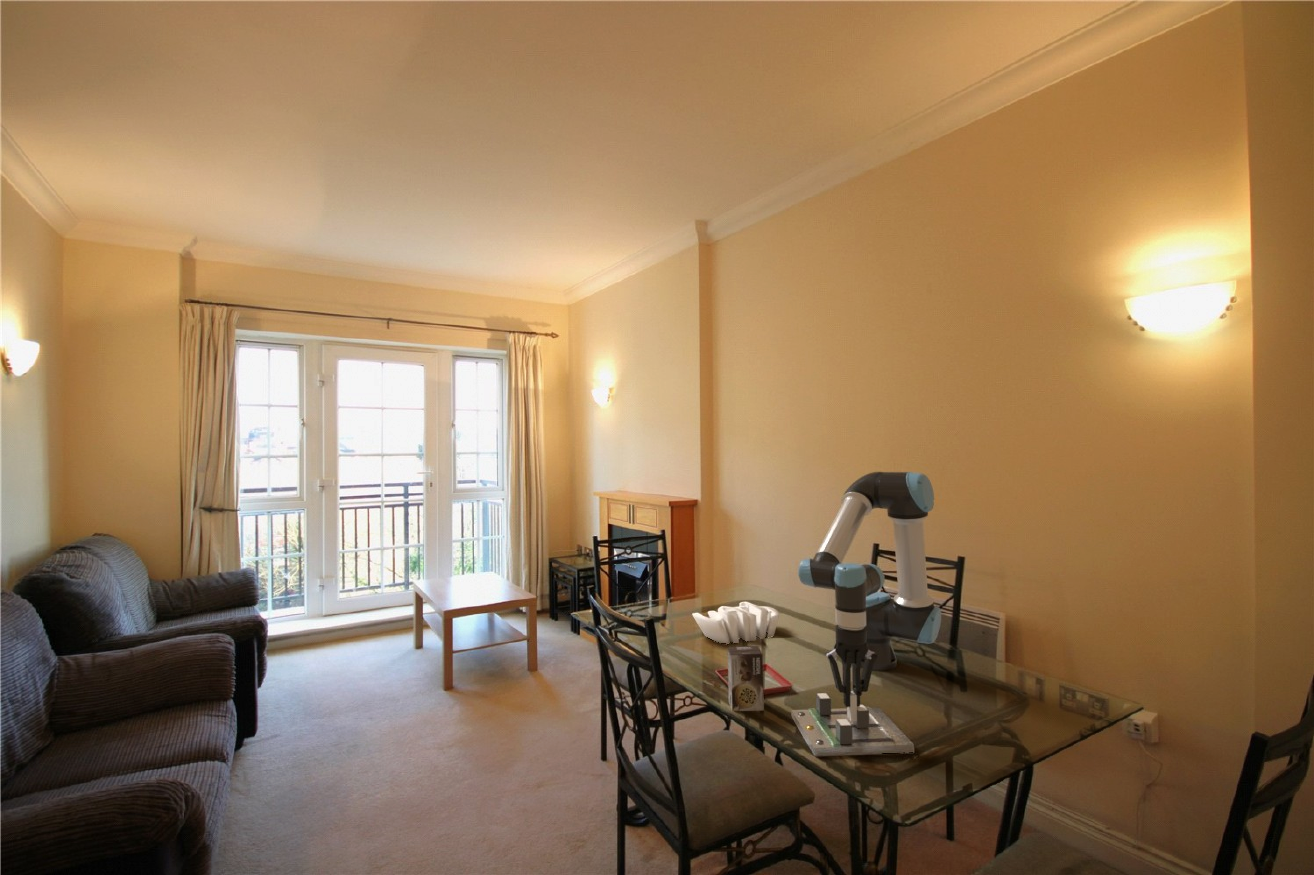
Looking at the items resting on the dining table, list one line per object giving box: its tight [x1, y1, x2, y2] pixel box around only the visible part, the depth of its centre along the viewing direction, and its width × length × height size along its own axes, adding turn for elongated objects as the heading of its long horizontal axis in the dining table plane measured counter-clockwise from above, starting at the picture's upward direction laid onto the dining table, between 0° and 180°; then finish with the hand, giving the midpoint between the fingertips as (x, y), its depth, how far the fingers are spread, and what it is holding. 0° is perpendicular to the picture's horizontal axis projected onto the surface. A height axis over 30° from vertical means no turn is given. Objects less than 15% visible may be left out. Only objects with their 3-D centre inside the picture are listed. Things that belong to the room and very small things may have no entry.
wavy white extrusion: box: [691, 601, 780, 645], centre depth 229 cm, size 35×16×11 cm, turn 110°
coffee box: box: [727, 645, 765, 712], centre depth 166 cm, size 9×6×16 cm
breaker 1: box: [815, 692, 832, 715], centre depth 157 cm, size 3×3×4 cm
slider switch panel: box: [790, 705, 915, 757], centre depth 150 cm, size 24×20×3 cm
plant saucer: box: [715, 663, 794, 695], centre depth 180 cm, size 18×18×3 cm
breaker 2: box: [836, 719, 853, 744], centre depth 142 cm, size 3×3×4 cm
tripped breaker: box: [853, 704, 869, 728], centre depth 150 cm, size 3×3×4 cm
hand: (852, 718), depth 150 cm, fingers closed
